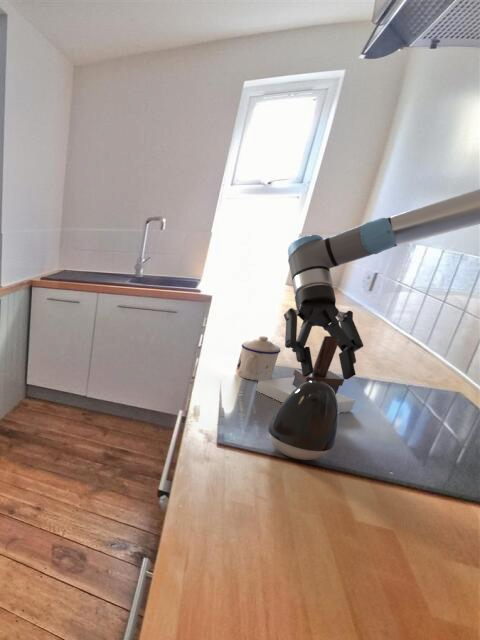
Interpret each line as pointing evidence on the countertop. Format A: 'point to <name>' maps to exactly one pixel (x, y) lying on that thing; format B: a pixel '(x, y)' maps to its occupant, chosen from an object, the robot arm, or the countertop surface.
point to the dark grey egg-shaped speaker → (306, 422)
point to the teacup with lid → (257, 359)
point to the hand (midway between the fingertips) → (328, 375)
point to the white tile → (284, 387)
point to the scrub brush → (322, 366)
